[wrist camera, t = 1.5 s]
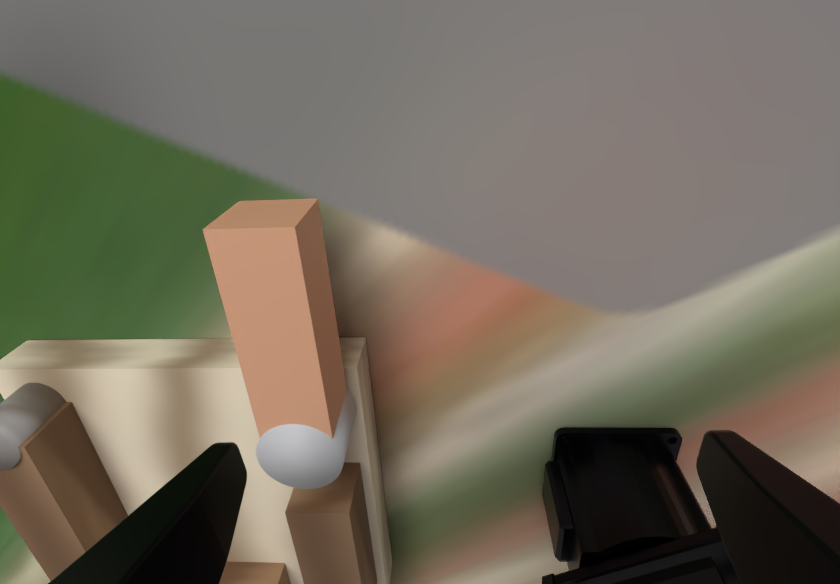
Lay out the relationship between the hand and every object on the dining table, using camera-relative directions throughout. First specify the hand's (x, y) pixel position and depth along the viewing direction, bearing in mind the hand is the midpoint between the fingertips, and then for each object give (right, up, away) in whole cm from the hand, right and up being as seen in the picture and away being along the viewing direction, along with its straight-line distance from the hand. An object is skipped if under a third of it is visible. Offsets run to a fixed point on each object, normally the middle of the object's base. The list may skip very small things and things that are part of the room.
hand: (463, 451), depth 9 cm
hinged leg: (-6, +1, +11) cm, 13 cm away
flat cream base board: (-12, -7, +20) cm, 24 cm away
